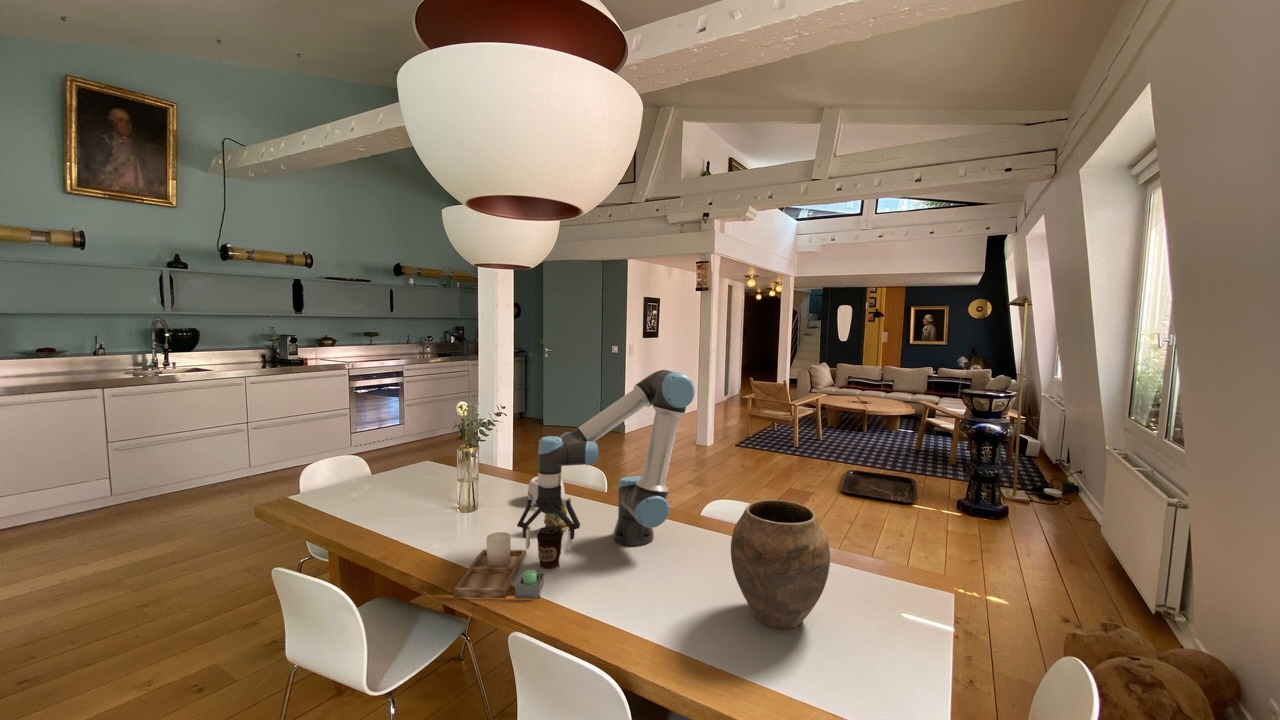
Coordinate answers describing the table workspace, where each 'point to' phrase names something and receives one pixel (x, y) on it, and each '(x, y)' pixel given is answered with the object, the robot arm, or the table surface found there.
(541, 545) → the coffee cup
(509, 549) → the seated billet
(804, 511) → the vase
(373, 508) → the table surface
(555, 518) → the decorative figurine
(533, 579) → the button
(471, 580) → the wooden tray
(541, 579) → the button housing
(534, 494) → the mug
